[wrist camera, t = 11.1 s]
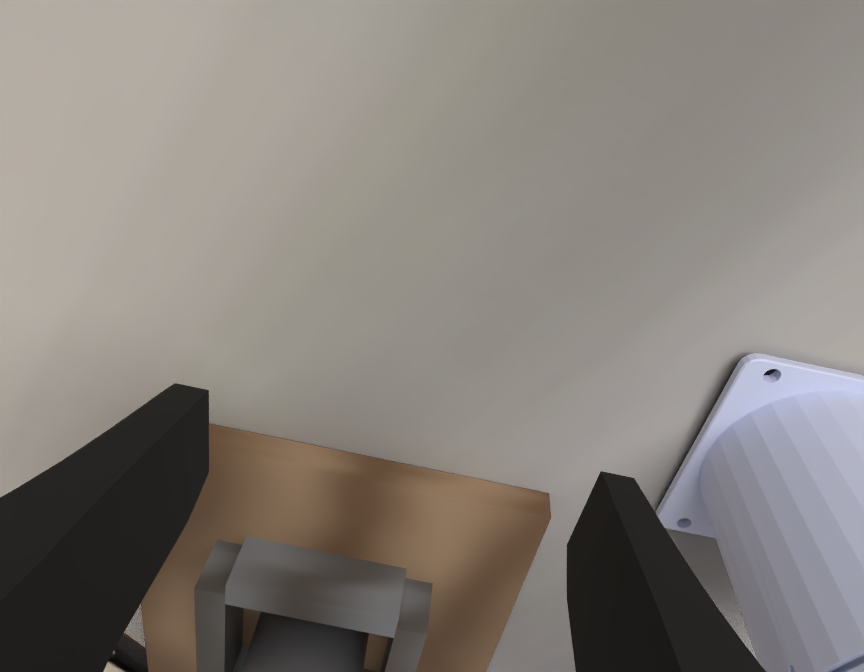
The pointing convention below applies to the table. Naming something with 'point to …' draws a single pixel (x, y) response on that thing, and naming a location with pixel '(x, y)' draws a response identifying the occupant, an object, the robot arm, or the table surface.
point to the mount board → (341, 557)
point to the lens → (304, 647)
